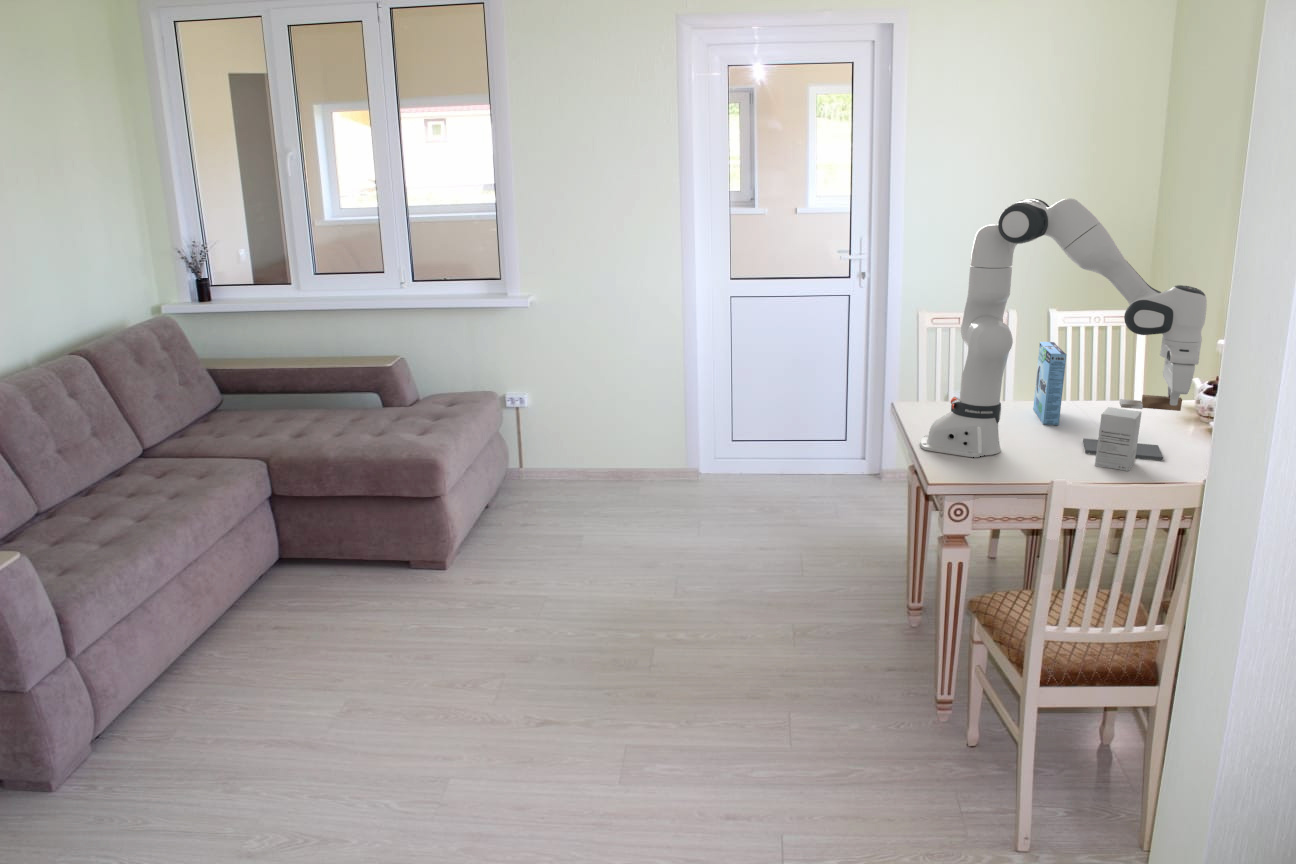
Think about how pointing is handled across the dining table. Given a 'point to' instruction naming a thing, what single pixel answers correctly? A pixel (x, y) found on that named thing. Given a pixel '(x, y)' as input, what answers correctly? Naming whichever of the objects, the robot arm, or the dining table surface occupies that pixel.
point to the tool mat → (1141, 452)
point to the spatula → (1151, 403)
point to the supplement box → (1118, 438)
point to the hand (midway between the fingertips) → (1171, 403)
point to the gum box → (1049, 383)
